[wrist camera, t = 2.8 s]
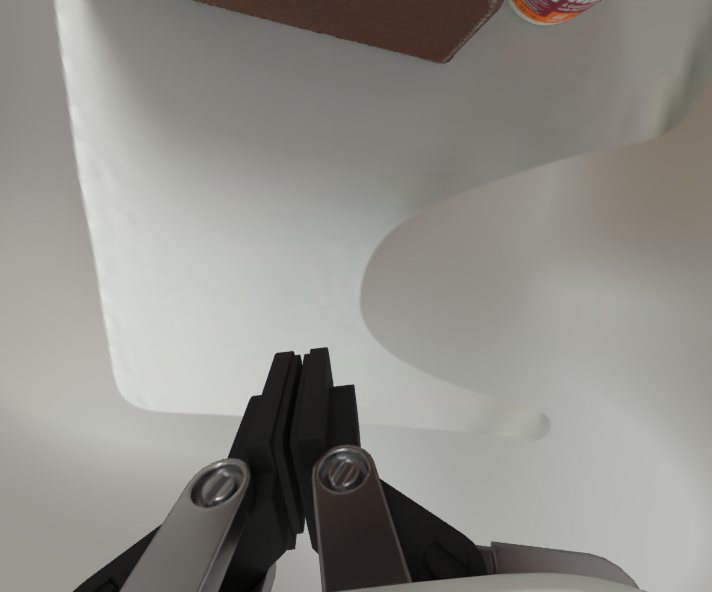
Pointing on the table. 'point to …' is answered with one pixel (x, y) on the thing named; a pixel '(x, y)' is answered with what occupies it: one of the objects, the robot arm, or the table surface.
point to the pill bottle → (549, 10)
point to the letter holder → (381, 21)
